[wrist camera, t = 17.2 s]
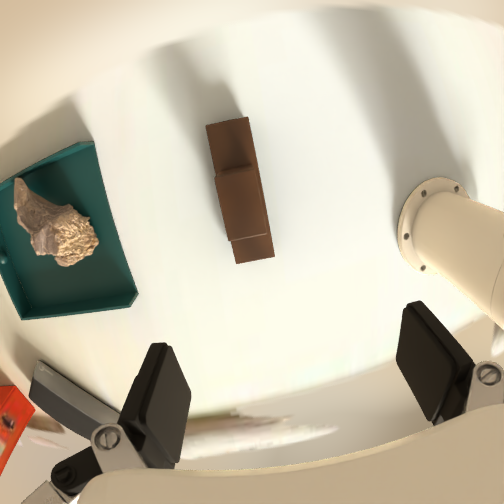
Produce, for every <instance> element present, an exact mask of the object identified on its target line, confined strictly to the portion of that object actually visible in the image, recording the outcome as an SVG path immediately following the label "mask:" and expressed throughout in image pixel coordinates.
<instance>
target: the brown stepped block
mask: <svg viewBox="0 0 504 504" xmlns="http://www.w3.org/2000/svg"><path fill="white" fill-rule="evenodd" d="M205 127H206V131H207V136H208V141H209V145H210V150H211V155H212V159H213V164H214V169H215V173H216V177H215V178H214V180H215V184H216V189H217V193H218V198H219V202H220V207H221V211H222V215H223V220H224V224H225V228H226V233H227V237H228V241H231V244H232V248H233V253H234V257H235V261H236V264H240V263H245V262H250V261H255V260H260V259H266V258H271V257H275V254H274V248H273V243H272V237H271V232H270V226H269V221H268V215H267V210H266V205H265V199H264V194H263V189H262V184H261V178H260V173H259V168H258V163H257V158H256V153H255V148H254V143H253V138H252V133H251V128H250V123H249V118H248V117H243V118H238V119H233V120H228V121H223V122H219V123H214V124H210V125H206V126H205Z"/></svg>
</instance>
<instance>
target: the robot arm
mask: <svg viewBox="0 0 504 504" xmlns="http://www.w3.org/2000/svg"><path fill="white" fill-rule="evenodd" d="M397 238H398V245H399V249H400V252H401V255H402V257H403V258H404V260H405V262H406V263H407V264H408V265H409V266H410V267H411V268H413V269H414V270H415V271H416V272H418V273H420V274H425V275H435V274H440V275H441V276H442V277H443V278H445V279H446V280H447V281H448V282H450V283H451V284H452V285H453V286H454V287H456V288H457V289H458V290H459V291H460V292H462V293H463V294H464V295H465V296H466V297H467V298H469V299H470V300H471V301H472V302H473V303H474V304H475V305H477V306H478V307H479V308H480V309H481V310H482V311H483V312H484V313H486V314H487V315H488V316H489V317H490V318H491V319H492V320H493V321H494V322H495V323H497V324H498V325H499V326H500V327H501V328H502V329H503V330H504V212H502V211H499V210H497V209H494V208H492V207H489V206H487V205H484V204H481V203H479V202H476V201H473V200H471V199H470V198H469V196H468V194H467V193H466V191H465V189H464V188H463V187H462V186H461V185H460V184H458V183H457V182H455V181H453V180H450V179H447V178H441V177H438V178H432V179H429V180H427V181H425V182H423V183H422V184H420V185H419V186H418V187H417V188H416V189H415V190H414V191H413V192H412V193H411V195H410V196H409V197H408V199H407V200H406V202H405V204H404V206H403V209H402V212H401V215H400V218H399V223H398V236H397ZM396 362H397V365H398V367H399V369H400V370H401V372H402V374H403V376H404V377H405V379H406V381H407V383H408V385H409V387H410V388H411V390H412V392H413V394H414V396H415V398H416V400H417V401H418V403H419V405H420V407H421V409H422V411H423V413H424V415H425V417H426V419H427V420H428V421H432V423H433V425H434V427H431V428H429V429H426V430H423V431H421V432H418V433H415V434H413V435H410V436H407V437H404V438H402V439H399V440H396V441H392V442H389V443H386V444H383V445H380V446H376V447H373V448H369V449H366V450H362V451H358V452H354V453H350V454H346V455H342V456H337V457H332V458H328V459H323V460H317V461H312V462H306V463H300V464H292V465H286V466H277V467H267V468H256V469H241V470H240V469H239V470H175V469H174V467H175V463H178V462H179V460H180V455H181V449H182V444H183V438H184V433H185V427H186V422H187V417H188V412H189V407H190V401H191V391H190V388H189V386H188V384H187V382H186V379H185V377H184V375H183V372H182V370H181V368H180V366H179V363H178V361H177V358H176V356H175V354H174V351H173V349H172V347H171V346H168V345H167V344H166V343H165V342H164V343H152V344H151V345H150V348H149V350H148V352H147V354H146V357H145V359H144V361H143V364H142V366H141V369H140V371H139V373H138V375H137V376H136V377H135V379H134V382H133V384H132V386H131V389H130V391H129V394H128V396H127V399H126V401H125V404H124V406H123V409H122V411H121V414H120V416H119V419H118V421H117V424H115V423H106V424H103V425H101V426H99V427H98V428H96V430H95V431H94V432H93V433H92V435H91V440H90V442H91V446H90V447H88V448H86V449H84V450H82V451H80V452H78V453H76V454H75V455H73V456H71V457H69V458H67V459H65V460H63V461H61V462H59V463H58V464H56V465H55V467H54V468H53V469H52V472H51V481H50V482H48V481H47V480H46V481H45V482H44V483H43V484H42V485H40V487H38V488H37V489H36V490H35V491H34V492H33V493H32V494H31V495H29V496H28V497H27V498H26V499H25V500H24V501H23V502H22V503H21V504H504V370H503V368H502V367H501V366H500V365H498V364H497V363H495V362H492V361H483V362H480V363H478V364H477V365H475V364H474V362H473V360H472V359H471V357H470V356H469V355H468V354H467V353H466V351H465V350H464V349H463V348H462V346H461V345H460V344H459V343H458V342H457V340H456V339H455V338H454V337H453V336H452V335H451V333H450V332H449V331H448V330H447V329H446V328H445V327H444V325H443V324H442V323H441V322H440V321H439V320H438V319H437V318H436V316H435V315H434V314H433V313H432V312H431V311H430V310H429V309H428V308H427V307H426V305H425V304H424V303H423V302H422V301H415V302H412V303H408V304H407V306H406V308H404V309H403V314H402V322H401V329H400V336H399V342H398V348H397V354H396Z"/></svg>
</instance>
